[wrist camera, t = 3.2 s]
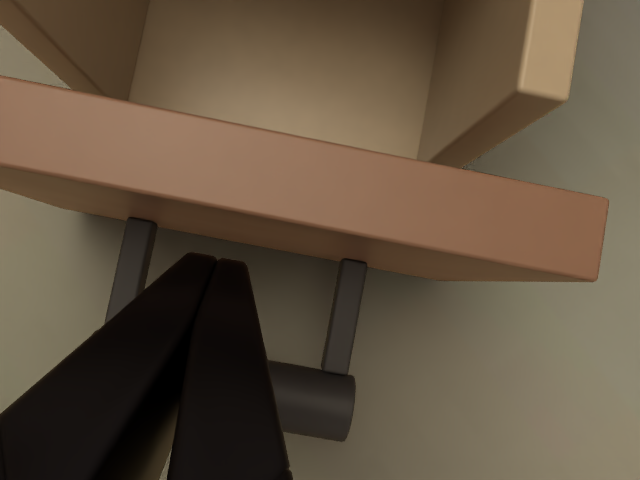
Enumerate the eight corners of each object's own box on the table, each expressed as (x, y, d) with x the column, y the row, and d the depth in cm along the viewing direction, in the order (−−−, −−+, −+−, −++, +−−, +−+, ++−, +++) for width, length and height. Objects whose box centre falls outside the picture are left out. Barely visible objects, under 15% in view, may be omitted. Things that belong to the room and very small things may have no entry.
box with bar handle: (415, 434, 15) (553, 593, 8) (23, 364, 15) (-264, 459, 7) (514, -143, 17) (717, -514, 9) (158, -226, 16) (42, -696, 8)
